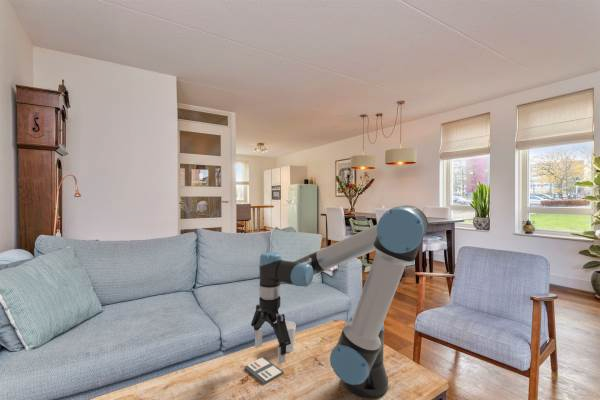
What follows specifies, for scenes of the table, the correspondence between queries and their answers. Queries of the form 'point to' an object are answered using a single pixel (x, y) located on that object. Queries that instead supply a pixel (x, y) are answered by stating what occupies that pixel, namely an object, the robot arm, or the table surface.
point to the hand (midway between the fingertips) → (269, 354)
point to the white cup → (290, 335)
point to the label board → (263, 370)
